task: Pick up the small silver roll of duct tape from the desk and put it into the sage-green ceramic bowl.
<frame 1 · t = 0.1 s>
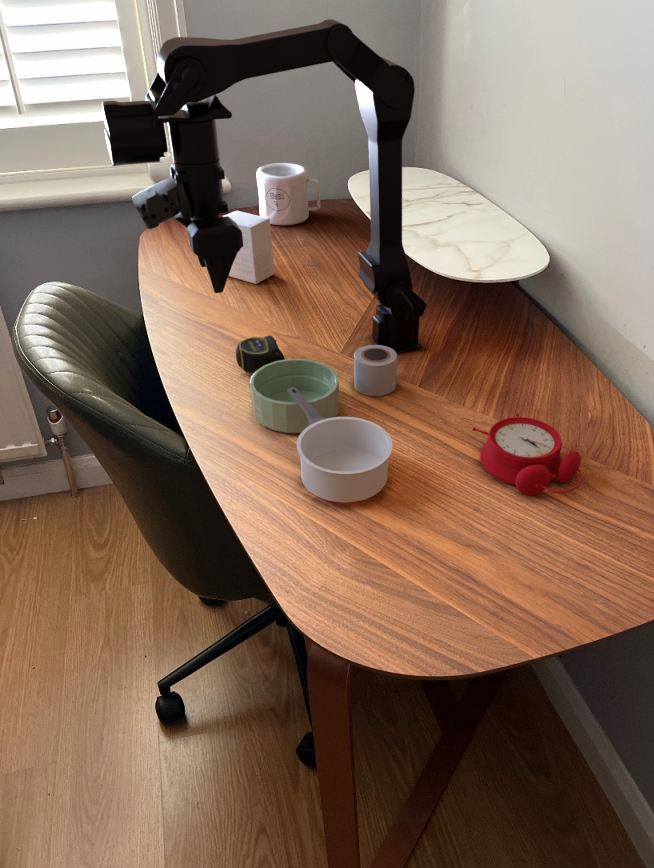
hand: (211, 279, 103), 15 cm above the table, tool pointing down, fingers open, 9 cm apart
small box: (249, 276, 140), on the table
alarm clock: (528, 471, 95), on the table
mug: (290, 219, 164), on the table
tape measure: (264, 366, 115), on the table
tape roll: (374, 385, 111), on the table
bowl: (296, 411, 105), on the table
saucepan: (327, 462, 96), on the table, touching bowl
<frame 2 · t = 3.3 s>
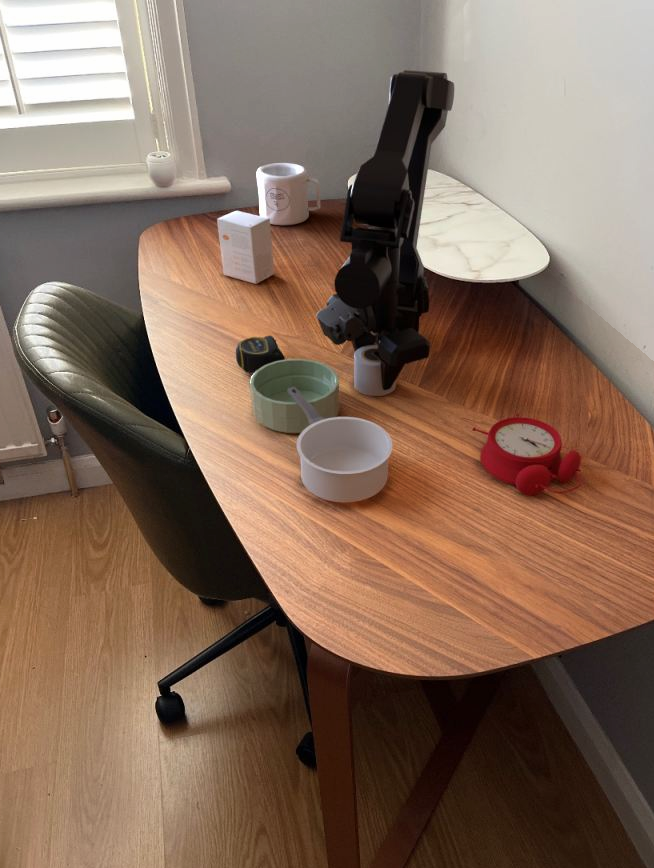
hand: (374, 379, 110), 1 cm above the table, tool pointing down, fingers closed on tape roll, 6 cm apart
tape roll: (374, 385, 111), on the table, touching gripper
everything else where it was.
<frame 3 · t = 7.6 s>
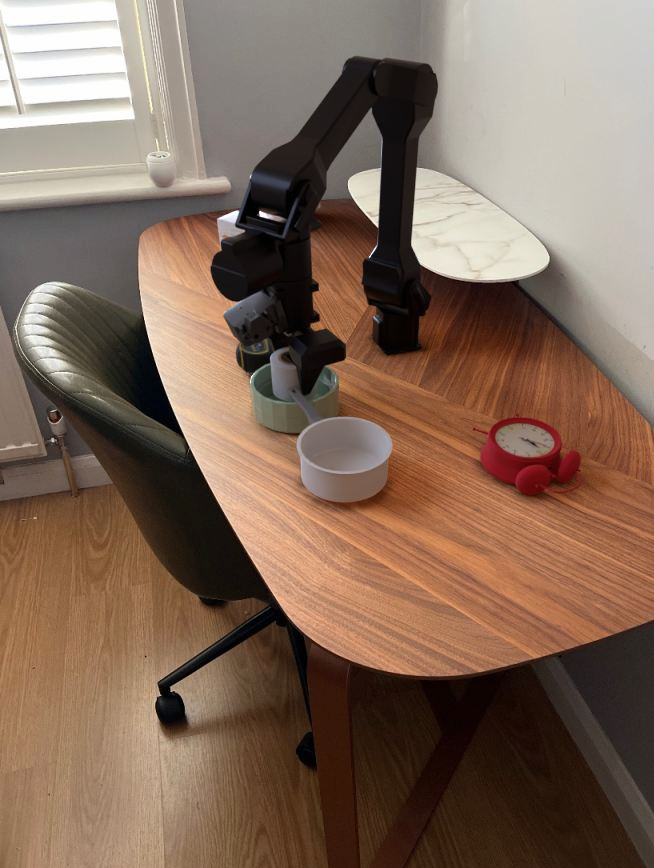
hand: (295, 383, 102), 4 cm above the table, tool pointing down, fingers closed on tape roll, 6 cm apart
tape roll: (295, 389, 103), point 3 cm above the table, touching gripper
saucepan: (327, 462, 96), on the table, touching bowl, gripper
everything else where it was.
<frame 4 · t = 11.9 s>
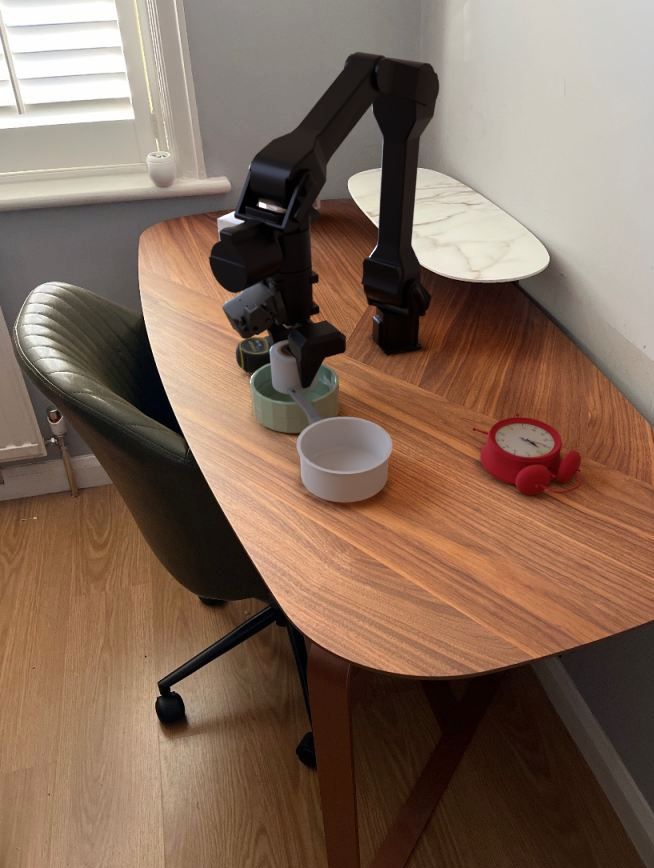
hand: (294, 376, 101), 6 cm above the table, tool pointing down, fingers closed on tape roll, 6 cm apart
tape roll: (295, 383, 102), point 5 cm above the table, touching gripper
saucepan: (327, 462, 96), on the table, touching bowl
everything else where it was.
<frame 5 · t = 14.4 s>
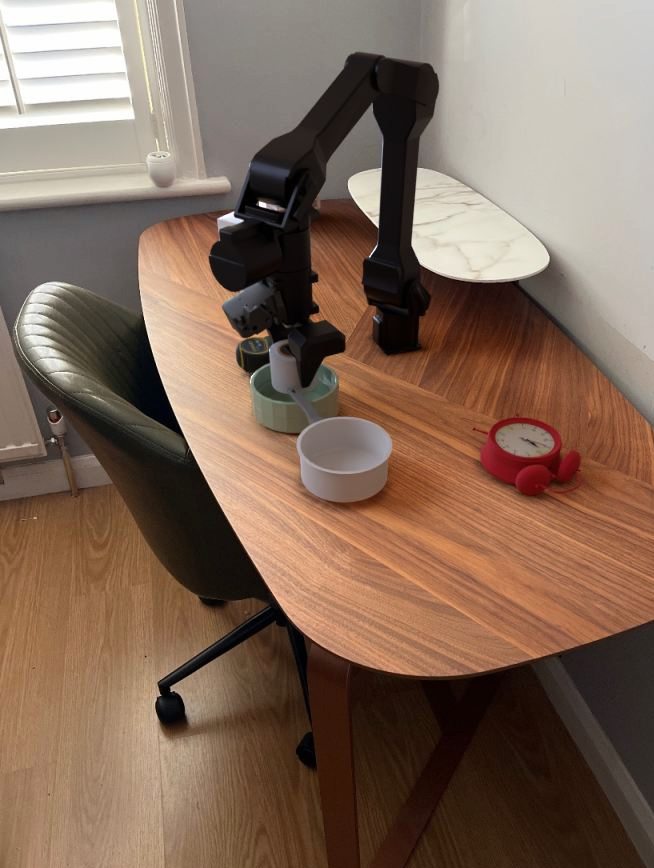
hand: (294, 376, 101), 6 cm above the table, tool pointing down, fingers closed on tape roll, 6 cm apart
tape roll: (294, 382, 102), point 5 cm above the table, touching gripper
everything else where it was.
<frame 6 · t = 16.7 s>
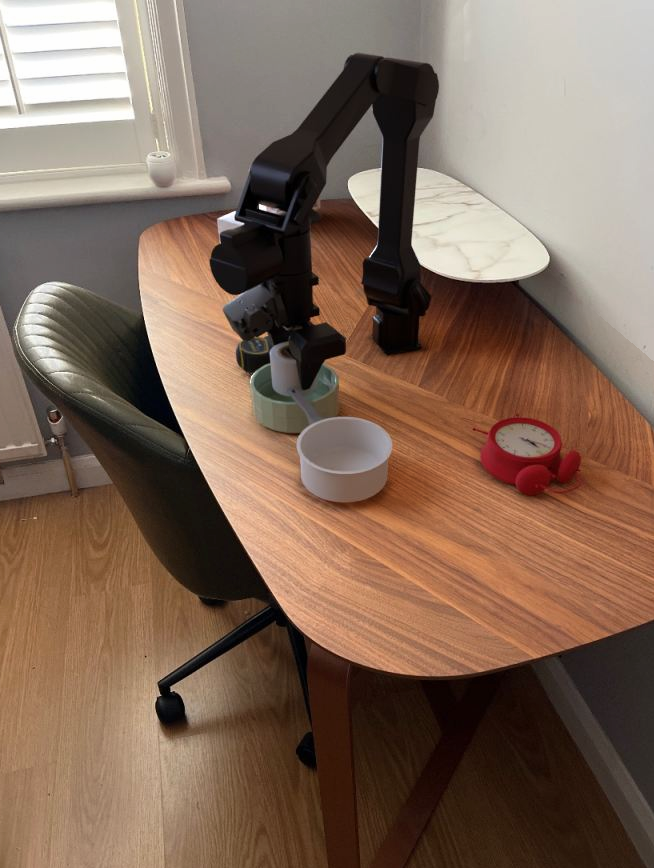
hand: (294, 378, 101), 5 cm above the table, tool pointing down, fingers closed on tape roll, 6 cm apart
tape roll: (295, 384, 102), point 4 cm above the table, touching gripper
everything else where it was.
when the fingers open (6 cm above the table, at t = 20.9 s): tape roll drops 5 cm, resting on bowl.
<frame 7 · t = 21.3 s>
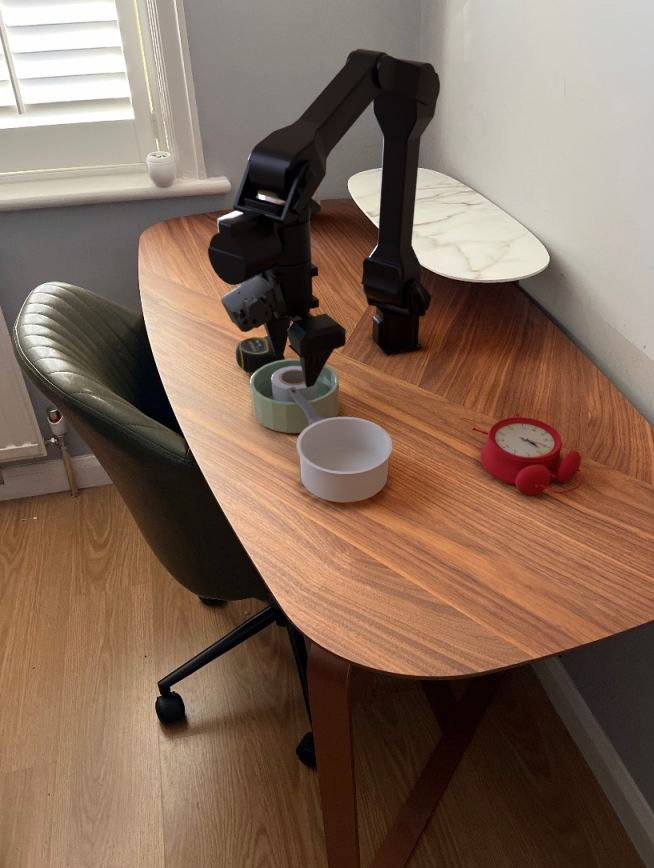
hand: (294, 370, 101), 6 cm above the table, tool pointing down, fingers open, 9 cm apart
tape roll: (296, 408, 104), resting on bowl
everything else where it was.
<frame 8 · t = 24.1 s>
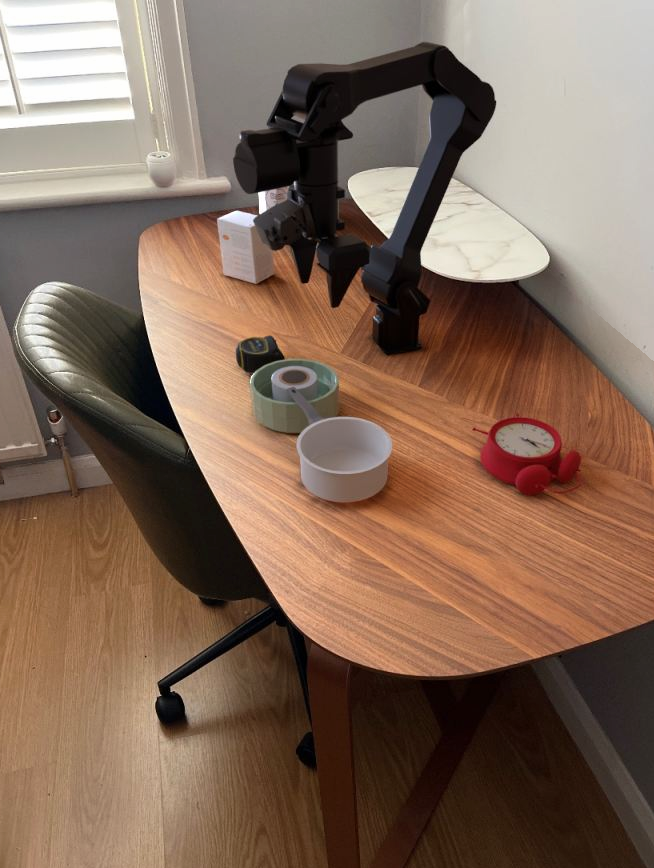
hand: (319, 294, 106), 12 cm above the table, tool pointing down, fingers open, 9 cm apart
nothing on the table moved.
at the end: tape roll inside the target area in the bowl (0.0 cm from its centre), point 0.5 cm above the bowl's base; the gripper is holding nothing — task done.
